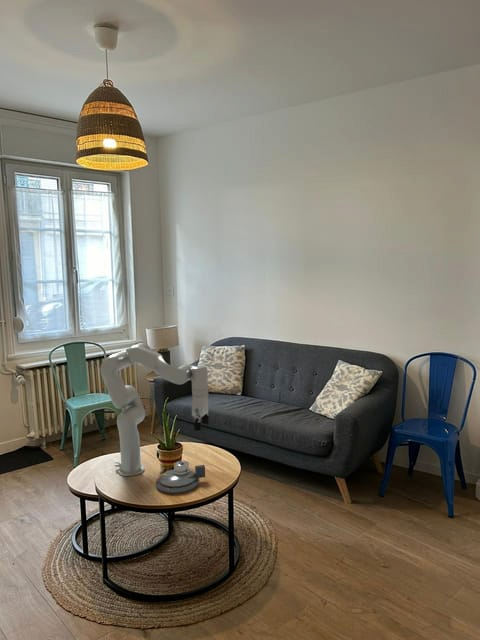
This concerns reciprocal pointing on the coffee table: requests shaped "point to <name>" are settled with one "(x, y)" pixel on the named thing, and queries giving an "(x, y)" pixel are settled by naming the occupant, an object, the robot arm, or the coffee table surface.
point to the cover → (181, 468)
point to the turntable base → (177, 490)
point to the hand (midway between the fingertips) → (201, 427)
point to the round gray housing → (181, 477)
